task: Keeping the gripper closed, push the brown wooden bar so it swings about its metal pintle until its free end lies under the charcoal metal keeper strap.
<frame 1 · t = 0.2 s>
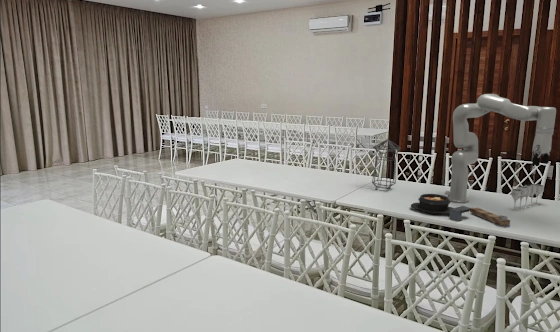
hand: (540, 164, 206), 31 cm above the table, tool pointing down, fingers open, 9 cm apart
geometric lantern: (384, 189, 274), on the table
pintle plate: (502, 225, 204), on the table
casserole: (433, 211, 227), on the table
brown wooden bar: (489, 214, 212), point 3 cm above the table, hinge at 0.0°
keeper: (460, 218, 215), on the table
goblet set: (525, 207, 236), on the table
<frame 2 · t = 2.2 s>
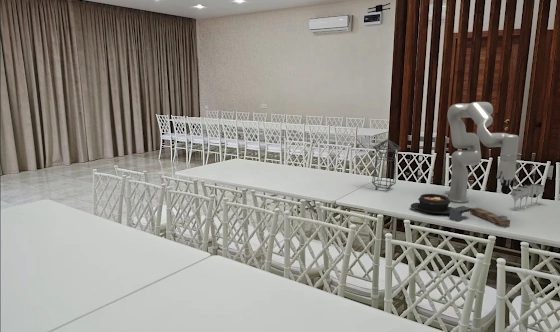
hand: (504, 192, 211), 15 cm above the table, tool pointing down, fingers closed
nothing on the table moved.
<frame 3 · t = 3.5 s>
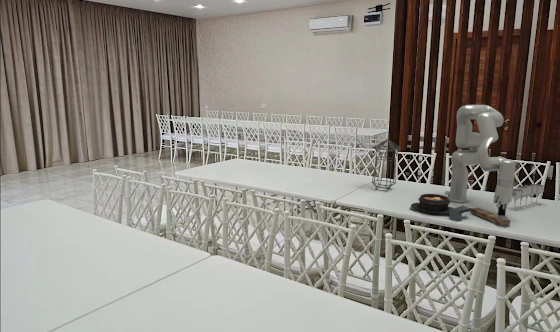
hand: (501, 215, 214), 2 cm above the table, tool pointing down, fingers closed
nothing on the table moved.
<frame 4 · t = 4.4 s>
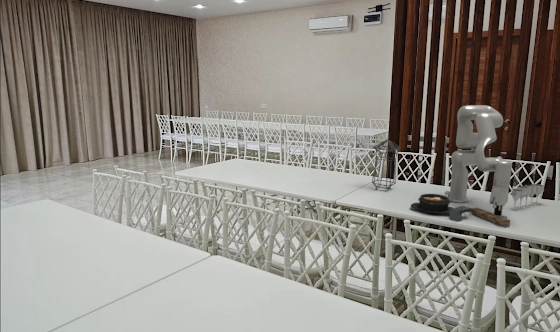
hand: (497, 216, 212), 2 cm above the table, tool pointing down, fingers closed
brown wooden bar: (488, 214, 212), point 3 cm above the table, hinge at 1.4°, touching gripper
everything else where it was.
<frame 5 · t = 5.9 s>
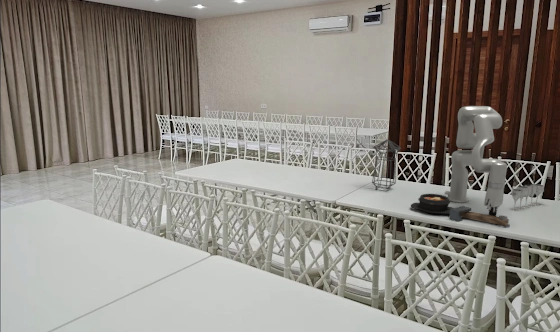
hand: (491, 218, 211), 1 cm above the table, tool pointing down, fingers closed
brown wooden bar: (483, 216, 209), point 3 cm above the table, hinge at 34.3°
everything else where it was.
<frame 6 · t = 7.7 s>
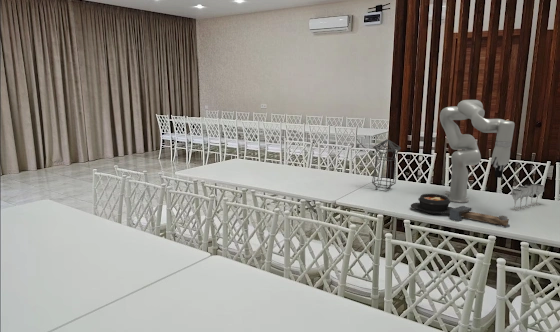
hand: (498, 177, 217), 22 cm above the table, tool pointing down, fingers closed
nothing on the table moved.
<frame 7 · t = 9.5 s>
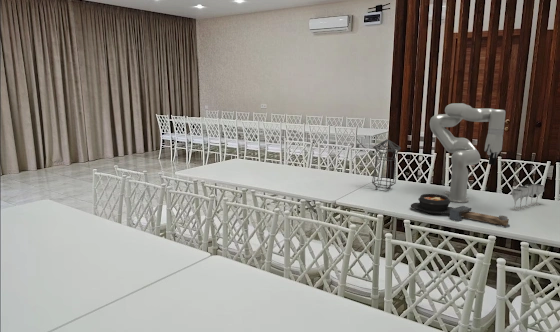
hand: (492, 164, 223), 27 cm above the table, tool pointing down, fingers closed
nothing on the table moved.
at the end: brown wooden bar at +34° (first picture: +0°) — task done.
